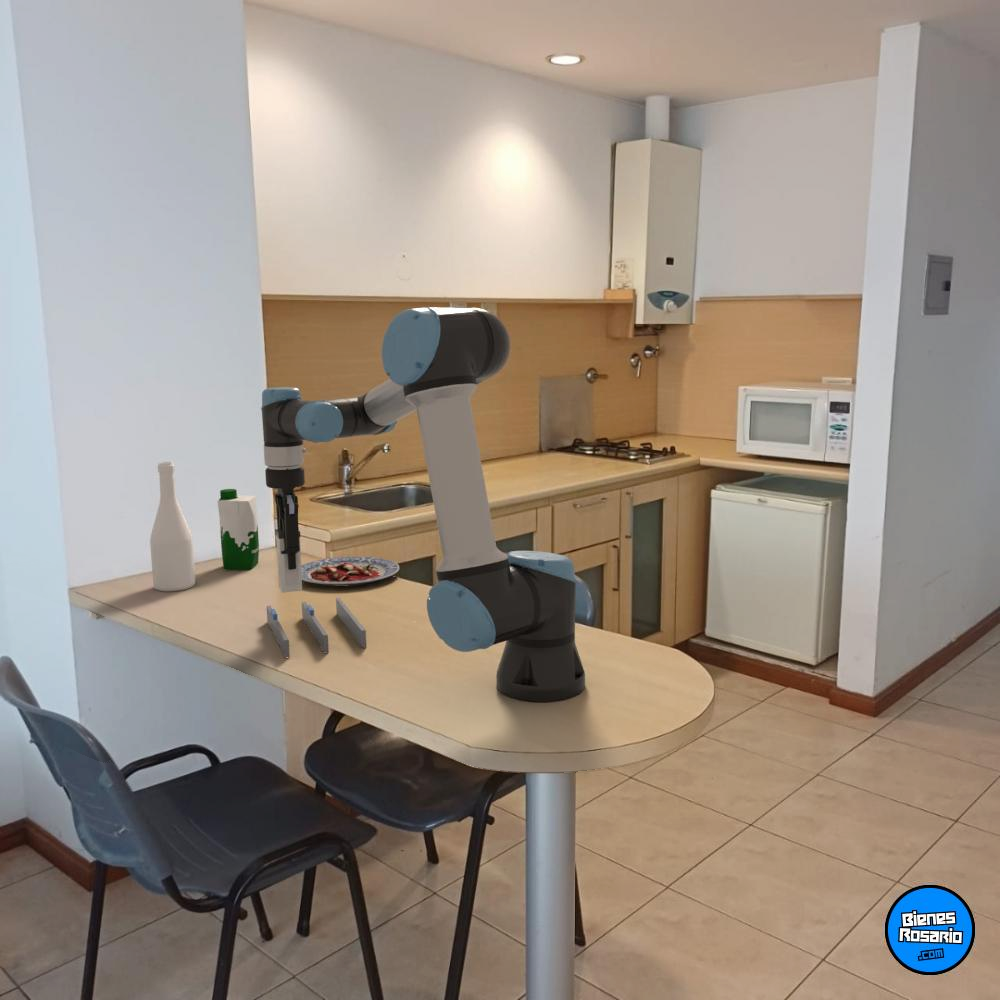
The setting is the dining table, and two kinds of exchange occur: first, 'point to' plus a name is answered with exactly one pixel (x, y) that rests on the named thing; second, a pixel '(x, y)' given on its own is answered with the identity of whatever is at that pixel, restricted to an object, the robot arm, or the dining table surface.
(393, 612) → the dining table surface
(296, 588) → the block
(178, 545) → the wine bottle
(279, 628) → the grey upright slats
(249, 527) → the milk carton
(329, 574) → the ceramic plate
